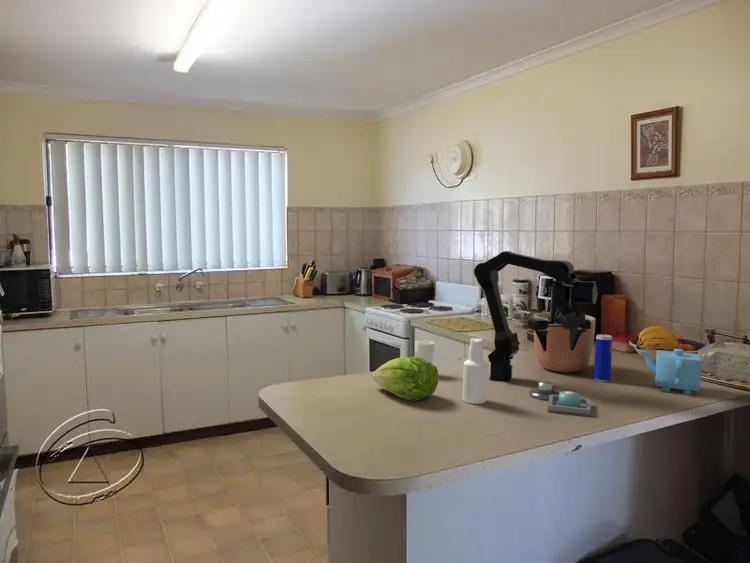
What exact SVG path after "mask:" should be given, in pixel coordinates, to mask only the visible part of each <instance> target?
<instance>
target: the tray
mask: <svg viewBox="0 0 750 563" xmlns="http://www.w3.org/2000/svg"><path fill="white" fill-rule="evenodd" d="M591 409H592V408H591V399H590V398H585V397H584V398H583V397H580V408H577V407H568V406H559V396H557V395H550V396H549V400H548V403H547V412H548V413H554V414H556V413H557V414H565V415H573V416H583V417H590V418H591Z"/></svg>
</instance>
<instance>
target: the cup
mask: <svg viewBox="0 0 750 563" xmlns="http://www.w3.org/2000/svg"><path fill="white" fill-rule="evenodd" d="M435 345H436V342H435V341H431V340H416V341H414V352H415V354H416V355H415V357H420V358H423V359H425V360H426V361H428V362H430V363H432V364H433V359H434V352H435Z"/></svg>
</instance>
